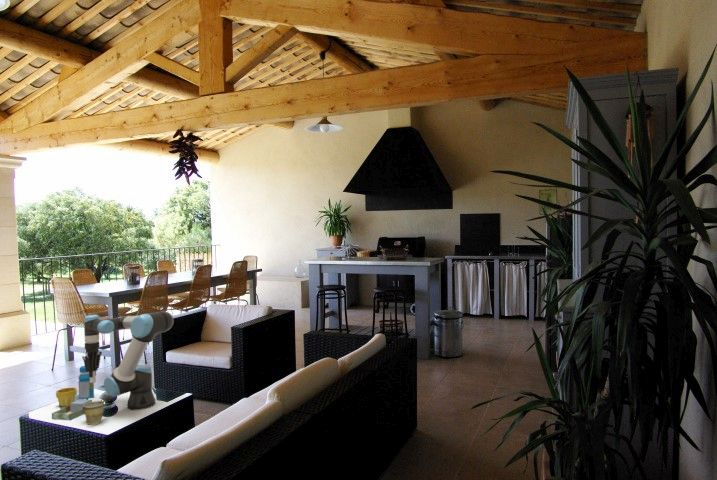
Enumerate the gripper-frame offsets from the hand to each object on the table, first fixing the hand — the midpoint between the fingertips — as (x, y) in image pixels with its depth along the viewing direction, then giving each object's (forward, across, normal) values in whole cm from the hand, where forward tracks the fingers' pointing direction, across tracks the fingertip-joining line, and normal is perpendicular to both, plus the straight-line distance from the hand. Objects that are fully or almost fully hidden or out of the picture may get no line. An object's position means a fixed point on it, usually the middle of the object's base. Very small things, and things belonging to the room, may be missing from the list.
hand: (92, 382), depth 281 cm
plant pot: (+15, +2, -17) cm, 22 cm away
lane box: (+14, +11, 0) cm, 18 cm away
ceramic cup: (+14, +20, +20) cm, 32 cm away
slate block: (+13, +9, 0) cm, 16 cm away
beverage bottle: (+15, -12, -16) cm, 25 cm away
